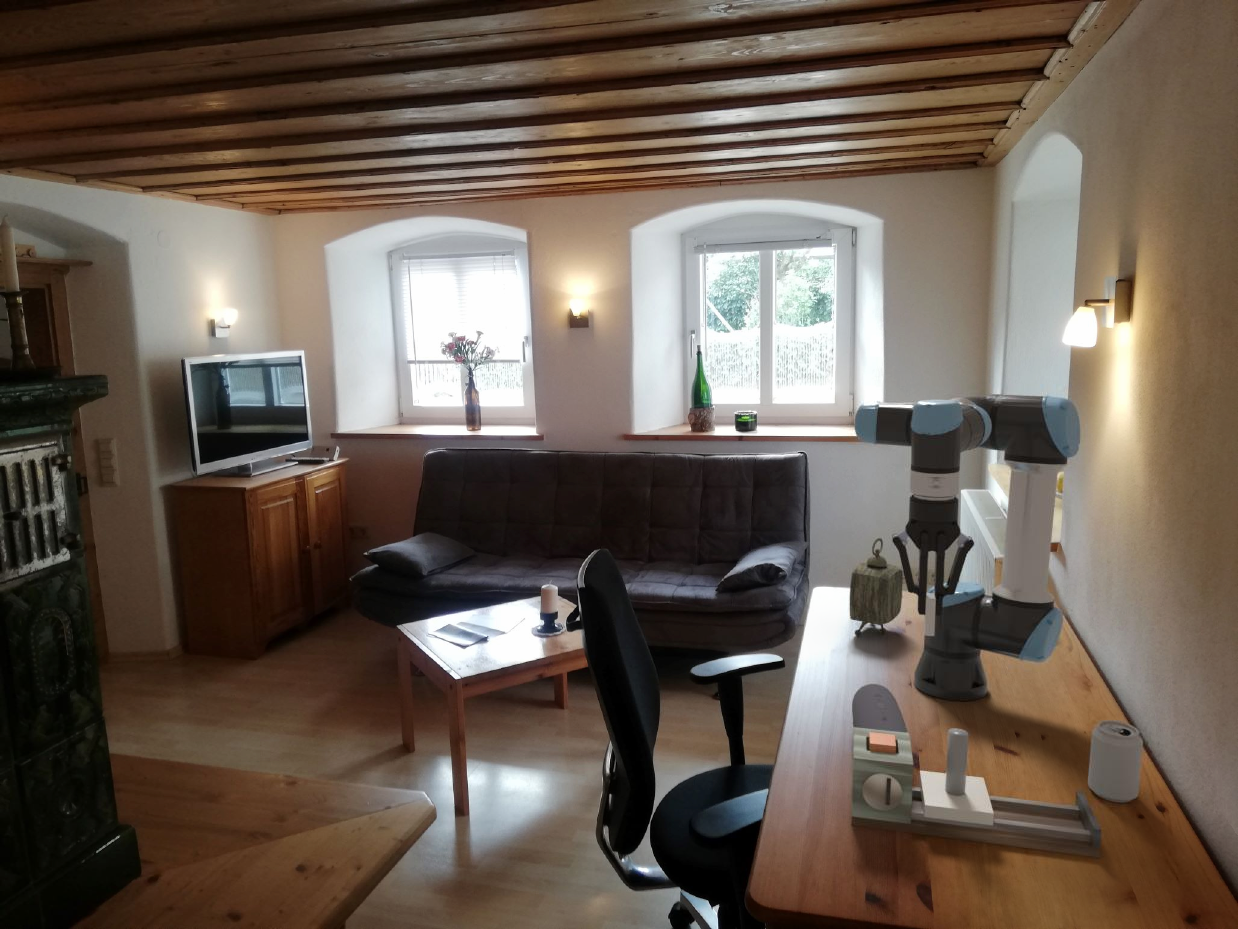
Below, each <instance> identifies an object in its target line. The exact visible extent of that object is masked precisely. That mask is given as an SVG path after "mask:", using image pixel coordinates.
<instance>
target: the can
mask: <svg viewBox="0 0 1238 929" xmlns="http://www.w3.org/2000/svg"><path fill="white" fill-rule="evenodd" d="M1143 748H1144V741H1143V738H1142V737H1141V736H1140V730H1139V729H1138V728H1136V726H1133V725H1132V724H1129V723H1127V722H1123V721H1119V720H1113V719H1112V720H1111V719H1106V720H1105V719H1104V720H1101V721H1098V723H1096V727H1094V728H1093V729H1092V732H1091V740H1090V752H1089V753H1090V754H1089V763H1088V764H1089V765H1088V766H1089V767H1088V777H1087V784H1088V787H1089V788H1090V789H1091V791H1092V792H1093V793H1094V794H1095V795H1097V796H1098V797H1100V798H1102V799H1104V800H1107V801H1110V802H1112V803H1113V802H1114V803H1128V802H1131V801H1132V800H1134V799H1136V798H1138V795H1139V792H1140V790H1139V789H1140V781H1141V769H1142V757H1143Z"/></svg>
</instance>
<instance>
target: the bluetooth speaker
mask: <svg viewBox="0 0 1238 929" xmlns="http://www.w3.org/2000/svg"><path fill="white" fill-rule="evenodd" d="M852 698H853V699H852V701H851V702H852V704H851V713H852V726H853V728H854V727H856V728H866V729H876V730H885V731H895V732H904V733H908V727H907V725H906V723H905V720H904V717H903V714H902V712H901V709H900V707H899V704H898V702H897V700H896V698H895V696H894V695H893V693H892V692H891V691H890V690H889V689H888V688H887V687H886V686H883V685H881V684H877V683H869V684H865V685H863V686H861V687H860V688H858V690H857V691H856V692H855V693H854V695H853V697H852Z"/></svg>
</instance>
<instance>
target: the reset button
mask: <svg viewBox="0 0 1238 929" xmlns="http://www.w3.org/2000/svg"><path fill="white" fill-rule="evenodd" d="M869 751H875V752H884V753H893V754H896V742H895V735H891V734H882V733H872V732H869Z"/></svg>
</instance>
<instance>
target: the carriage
mask: <svg viewBox="0 0 1238 929" xmlns="http://www.w3.org/2000/svg"><path fill="white" fill-rule="evenodd" d="M968 745H969V732H968V731H967V730H965V729H962V728H949V729H948V732H947V746H946V748H947V749H946V765H945V766H946V768H945V773H944V772H935V771H928V770H919V777H918V779H919V780H918V782H919V787H920V790H921V797H922V804H923V810H924V817H930V818H938V819H946V820H954V821H962V822H970V823H977V824H985V825H993V818H994V812H993V809H992V806H991V802H990V799H989V796H990V795H989V792H988V789H987V785H986V782H985V779H984V777H981V776H980V777H979V776H973V775H972V776H970V775H967V768H968V764H967V763H968V751H969V750H968V749H969V746H968Z"/></svg>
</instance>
